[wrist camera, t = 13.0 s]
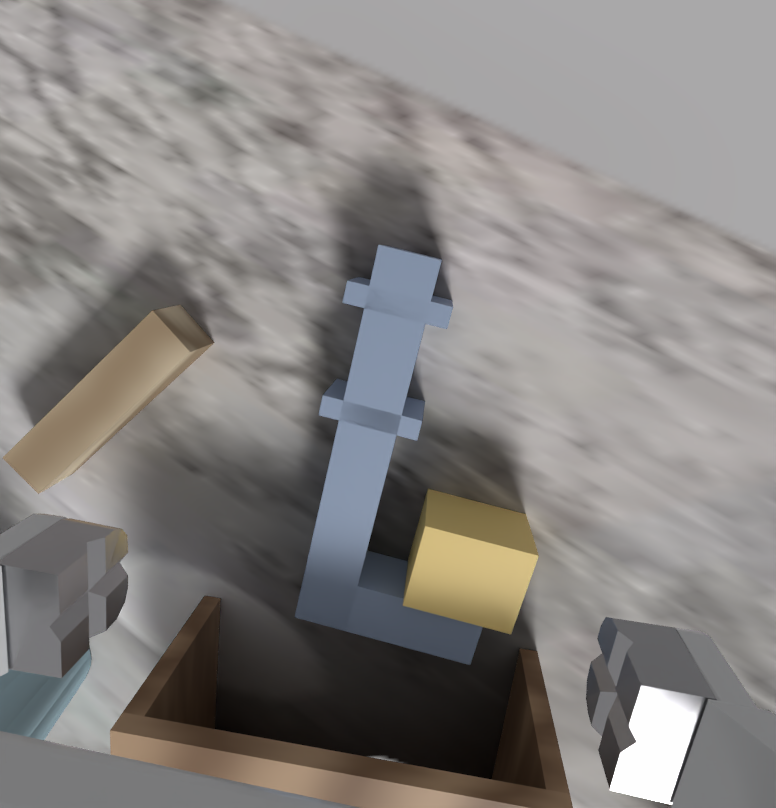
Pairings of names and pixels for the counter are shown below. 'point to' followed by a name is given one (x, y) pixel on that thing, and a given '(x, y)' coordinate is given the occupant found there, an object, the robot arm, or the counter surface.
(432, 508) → the ochre block
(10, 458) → the beech stick
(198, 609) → the box
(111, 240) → the counter surface
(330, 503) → the crook
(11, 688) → the cup
